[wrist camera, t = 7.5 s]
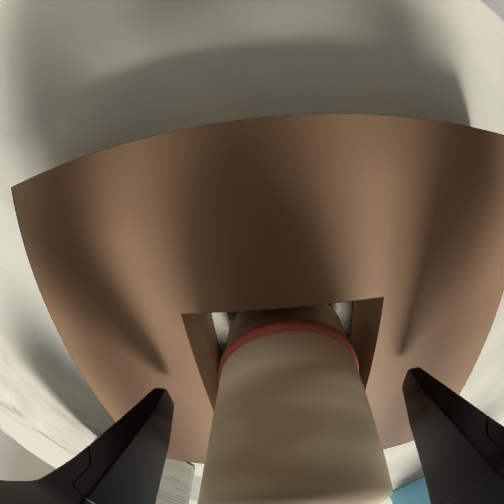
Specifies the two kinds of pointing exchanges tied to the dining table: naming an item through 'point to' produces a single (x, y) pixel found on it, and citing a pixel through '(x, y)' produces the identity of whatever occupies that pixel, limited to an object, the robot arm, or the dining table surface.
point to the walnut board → (271, 252)
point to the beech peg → (292, 415)
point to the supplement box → (175, 482)
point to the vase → (412, 493)
